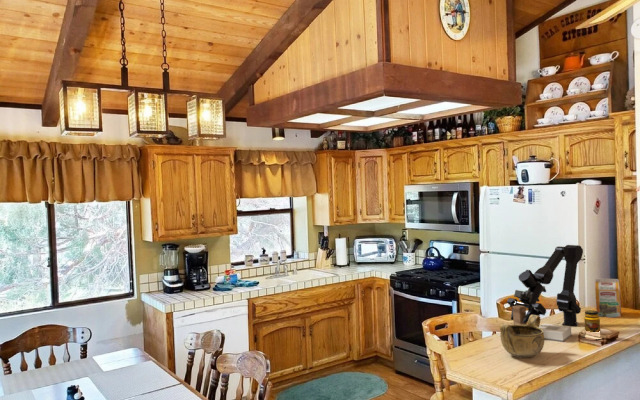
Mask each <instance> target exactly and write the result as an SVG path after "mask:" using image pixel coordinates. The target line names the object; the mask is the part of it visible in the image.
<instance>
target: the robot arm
mask: <svg viewBox="0 0 640 400" xmlns="http://www.w3.org/2000/svg"><path fill="white" fill-rule="evenodd" d="M583 254H584V248H582V246H581V245H578V244H576V245H575V244H566V245H565V246H561V245H560V246H556V247H555V249H554V251H553V253H552V254H551V255H550V257H549V258H548V260H547V261H546V262H545V264H544V265H543V266H541V267H540V268H538V269H537V270H535V272H534V273H533V272H532V270H531V269H526V270H525V271H523V272H521V273H520V274H519V275H518V280H519V281H520V282H521V283H522V284H523V286H524V287H525V288H527V290H524V291H523V290H518V289H515V291H514V295H513V297H515V298H513V297H509V298H507V300H506V303H507V304H508V305H509V306H510V307H511V313H510V320H511V321H513V307H512V306H517V305H521V306H526V309H527V311H526V316H525V318H524V321H523V322H524V323H526V322H527V323H528V319H529V317H530V315H537V316H545V315H546V313H547V308H546V307H544V305H543V304H542V303H540V296H541V294H542V292H543V293H547V289H546V286H544V285H550V284H551V282H552V280H553V278H554V272H555V270H556V269H557V268H558V266H559V264H560V263H561V262H562V260H563V259H564V260H565V269H564V274H563V275H564V277H563V284H562V290H561V292H560V293H558V292H557V294H556V300H555V302H556V306H557V308H558V311H559V312H563V315H562V316H563V323H562V324H561V326H570V327H577V326H578V325H579V322H578V320H577V314H581V311H582V310H581V309H582V308H581V307H580V306H579V304H578V303H577V297H576V295H575V293H574V291H575V284H576V276H577V269H578V264H579V263H580V261H581V260H582V258H583ZM516 298H517V299H518V300H517V299H516ZM519 301H520V302H519Z"/></svg>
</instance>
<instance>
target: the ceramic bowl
mask: <svg viewBox="0 0 640 400" xmlns="http://www.w3.org/2000/svg"><path fill="white" fill-rule="evenodd" d="M540 316H541V315H540ZM540 316H537V315H530V317H529V319H528V322H527V325H514V324H507V323H501V324H500V327H499V330H500V336H499V337H500V341H501V342H500V343H501V345H502V347H503V348H504V350H505V351H506V352H507V353H508V354H510V355H512V356H514V357H517V358H521V359H528V358H533V357H535V356H537V355H538V354H540V352H542V350H543V348H544V345H545V339H544V333H543V330H542V329H541V328H539V326H541V324H540V323H541V317H540Z"/></svg>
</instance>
